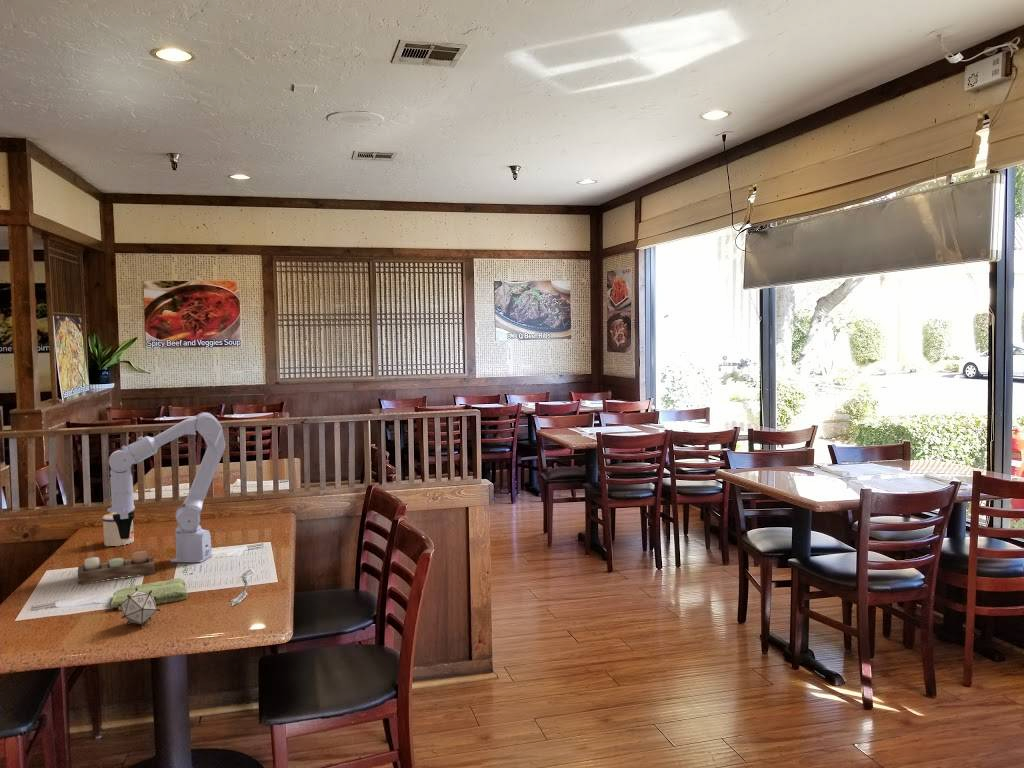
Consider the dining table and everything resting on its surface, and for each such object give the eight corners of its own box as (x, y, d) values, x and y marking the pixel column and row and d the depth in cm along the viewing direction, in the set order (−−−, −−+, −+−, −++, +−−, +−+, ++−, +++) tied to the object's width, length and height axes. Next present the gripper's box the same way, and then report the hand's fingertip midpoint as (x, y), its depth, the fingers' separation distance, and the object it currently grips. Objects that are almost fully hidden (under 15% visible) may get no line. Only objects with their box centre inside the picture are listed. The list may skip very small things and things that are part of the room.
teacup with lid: (130, 546, 252) (128, 510, 251) (99, 548, 250) (97, 511, 249) (140, 536, 264) (138, 501, 263) (110, 538, 262) (108, 503, 261)
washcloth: (111, 598, 205) (111, 585, 204) (185, 587, 212) (184, 575, 212) (111, 614, 193) (110, 601, 193) (188, 602, 201) (188, 589, 200)
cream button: (99, 565, 222) (99, 556, 222) (99, 568, 219) (99, 559, 218) (85, 567, 220) (84, 558, 220) (84, 570, 217) (84, 561, 217)
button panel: (153, 566, 230) (152, 556, 230) (154, 573, 223) (154, 563, 223) (79, 576, 222) (78, 565, 221) (78, 584, 214) (77, 573, 214)
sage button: (123, 565, 225) (123, 557, 224) (123, 569, 221) (123, 560, 221) (109, 567, 223) (109, 559, 223) (109, 571, 220) (109, 562, 220)
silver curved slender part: (227, 609, 195) (248, 606, 196) (227, 606, 195) (248, 604, 196) (237, 570, 226) (255, 569, 227) (237, 568, 226) (255, 566, 227)
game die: (135, 637, 186) (129, 597, 191) (169, 623, 187) (162, 584, 191) (114, 632, 178) (108, 590, 183) (149, 617, 179) (142, 576, 183)
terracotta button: (146, 558, 227) (146, 550, 227) (147, 562, 224) (146, 553, 224) (132, 560, 226) (132, 552, 225) (133, 563, 222) (132, 555, 222)
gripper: (106, 489, 232) (108, 534, 233) (107, 498, 219) (110, 546, 220) (132, 486, 235) (135, 531, 236) (135, 495, 223) (137, 542, 224)
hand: (124, 538), depth 229 cm, fingers closed
